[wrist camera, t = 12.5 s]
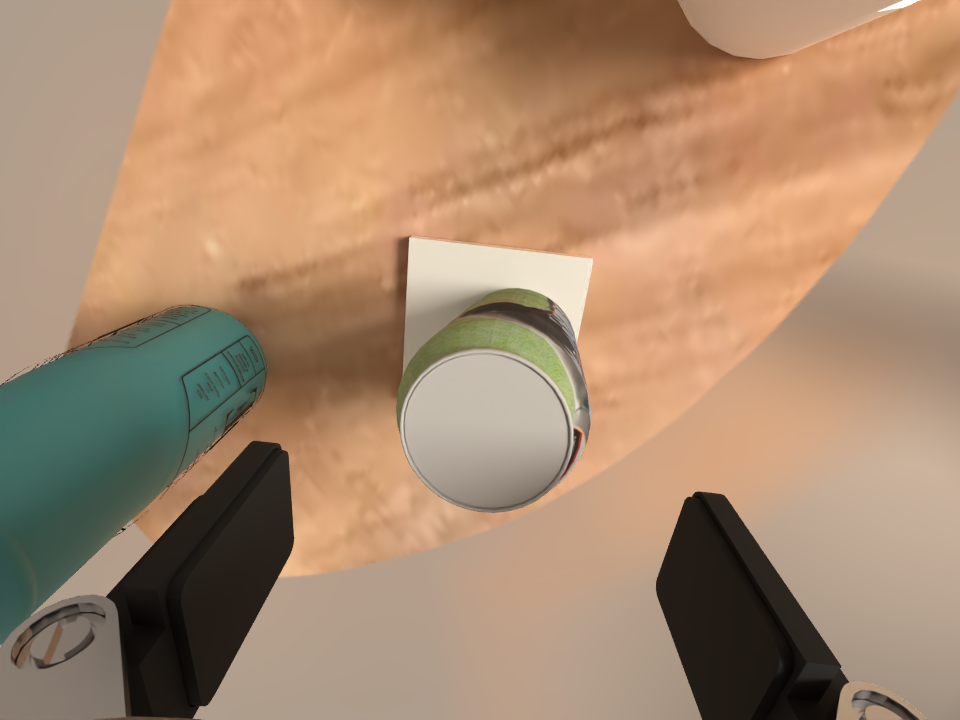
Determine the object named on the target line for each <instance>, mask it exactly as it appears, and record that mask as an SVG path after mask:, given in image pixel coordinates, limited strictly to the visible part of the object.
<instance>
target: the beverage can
mask: <svg viewBox="0 0 960 720" xmlns="http://www.w3.org/2000/svg"><path fill="white" fill-rule="evenodd" d="M396 412H397V423H398V428H399V432H400V435H401V442H402V446H403V449H404V453H405V455H406V457H407V460H408V462H409V464H410V466H411V467H412V469H413V470H414V472H415V473H416V475H417V476H418V478H419V479H420V480H421V481H422V482H423V483H424V484H425V485H426V486H427V487H428V488H429V489H430V490H431V491H433V492H434V493H435V494H437V495H438V496H439V497H441V498H443V499H444V500H446V501H448V502H450V503H452V504H454V505H456V506H459V507H462V508H465V509H468V510H473V511H478V512H491V513H496V512H505V511H511V510H515V509H518V508H522V507H524V506H527V505H529V504H531V503H533V502H535V501H537V500H538V499H539V498H541V497H542V496H544V495H545V494H547V493H548V492H549V491H550V490H551V489H552V488H554V487H555V486H557V485H558V484H559V483H560V482H561V481H562V480H563V479H564V478H565V477H566V476H567V475H568V474H569V473H570V472H571V471H572V469H573V468H574V467H575V465H576V464H577V462H578V461H579V459H580V457H581V455H582V453H583V450H584V448H585V446H586V443H587V439H588V435H589V430H590V416H591V408H590V402H589V396H588V391H587V386H586V382H585V378H584V373H583V369H582V365H581V360H580V356H579V351H578V347H577V343H576V338H575V334H574V331H573V328H572V325H571V323H570V321H569V319H568V318H567V316H566V314H565V313H564V312H563V311H562V309H561V308H560V307H559V306H558V305H557V304H556V303H555V302H553V301H552V300H551V299H550V298H548V297H546V296H544V295H542V294H540V293H538V292H535V291H532V290H528V289H522V288H507V289H502V290H497V291H495V292H492V293H490V294H487V295H486V296H484V297H482V298H481V299H479V300H478V301H476V302H475V303H474V304H473V305H471V306H470V307H469V308H468V309H467V310H465V311H464V312H463V313H462V314H460V315H459V316H458V317H457V318H455V319H454V320H453V321H452V322H450V323H449V324H448V325H447V326H445V327H444V328H443V329H442V330H440V331H439V332H438V333H437V334H435V335H434V336H433V337H432V338H430V339H429V340H428V341H427V342H426V343H425V344H424V345H423V346H422V347H421V348H420V349H419V350H418V351H417V352H416V354H415V355H414V356H413V358H412V359H411V360H410V362H409V364H408V366H407V368H406V370H405V372H404V374H403V376H402V379H401V382H400V386H399V389H398V394H397V406H396Z"/></svg>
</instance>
